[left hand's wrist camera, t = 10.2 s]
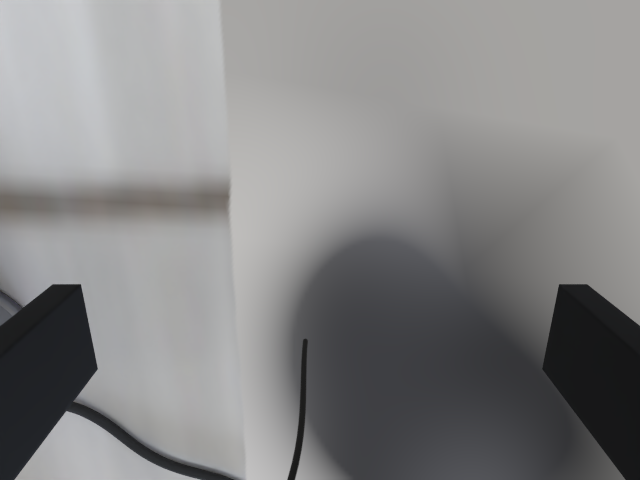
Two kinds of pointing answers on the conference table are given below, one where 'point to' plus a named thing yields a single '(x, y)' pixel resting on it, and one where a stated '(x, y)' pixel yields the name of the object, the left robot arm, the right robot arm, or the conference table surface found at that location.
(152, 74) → the conference table surface
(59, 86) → the conference table surface
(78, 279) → the conference table surface
